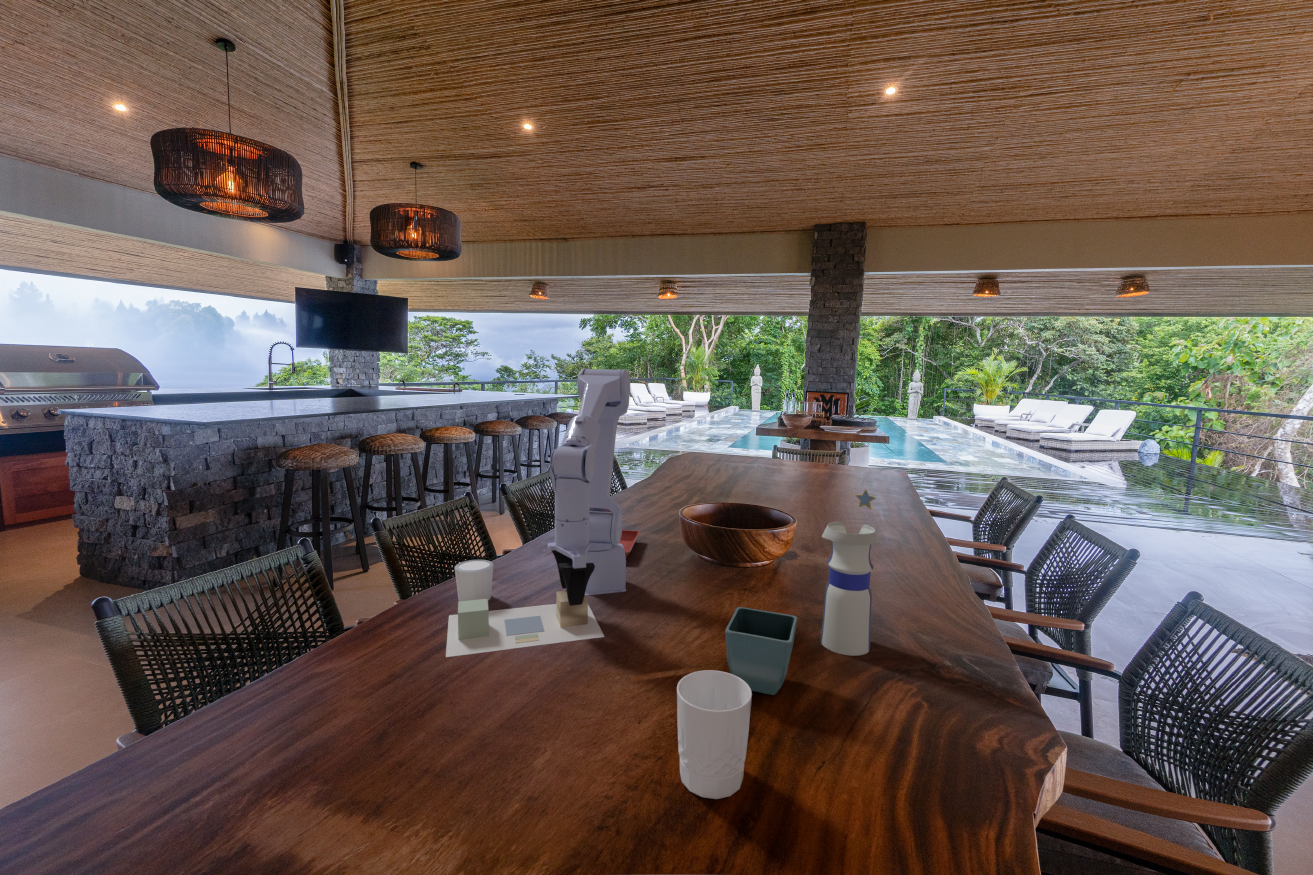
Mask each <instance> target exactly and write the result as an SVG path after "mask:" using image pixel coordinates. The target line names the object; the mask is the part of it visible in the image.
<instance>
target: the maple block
mask: <svg viewBox="0 0 1313 875" xmlns="http://www.w3.org/2000/svg"><path fill="white" fill-rule="evenodd" d="M555 593H556V595H555V597H556V598H555V600H556V602H555V604H556V616H557V619H558V622H559V625H560V627H568V626H576V625H585V624H588V605H589V598H588V597H587V596H588V595H586V594H585V596H584V600H583V603H582V605H573V606H570V605H569V602H568V597H567V591H566V590H560V591H559V590H558V591H556V592H555Z"/></svg>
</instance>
